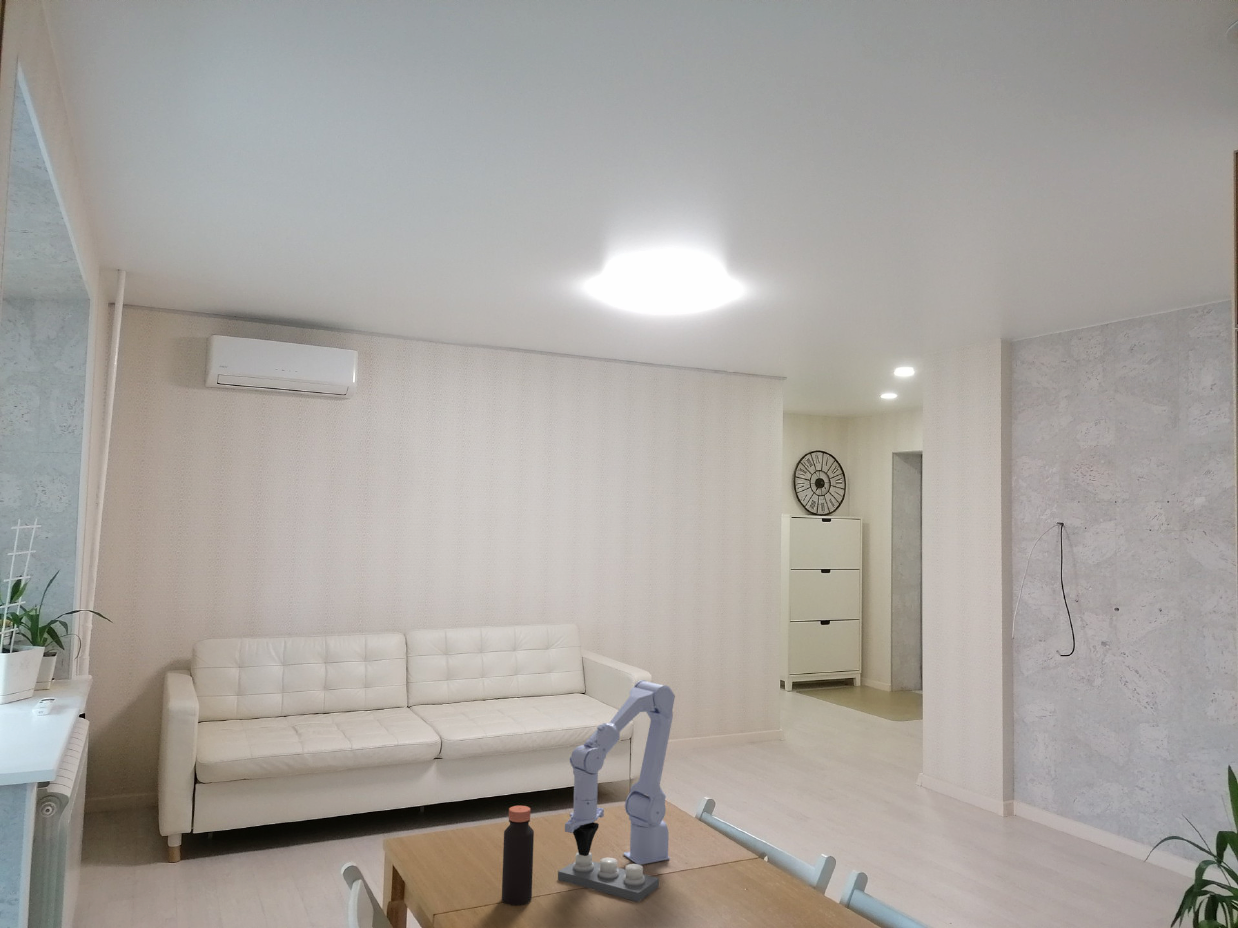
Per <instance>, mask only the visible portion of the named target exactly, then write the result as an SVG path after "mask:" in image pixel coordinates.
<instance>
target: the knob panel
mask: <svg viewBox="0 0 1238 928" xmlns="http://www.w3.org/2000/svg"><path fill="white" fill-rule="evenodd" d="M557 880H558V881H560V882H564V883H568V884H572V885H574V886H578V887H582V888H587V889H590V890H593V891H597V892H599V893H600V892H601V893H605V894H608V895H611V896H614V897H618V898H622V899H626V900H629V901H633V902H637V903H639V902H641V901H642V900H643V899H644V898H646V897H648V896H649V895H650V894H651V893H653V892H655V890H657V889H658V888H659V887H660V878H659V877H656V876H651V875H648V874H644V873H643V877H642V878H641V879H636V880H633V879H629V878H627V877H626V868H625V869H624V868H621V867H617V871H615V872H612V873H606V872H602V871H601V870H600V862H597V861H594V860H592V864H591V865H589V866H579V865H577V864H576V863H575V861H574V862H571V863H570V864H568V865H566V866H565V867H563V868H561V869H560V870H558V871H557Z"/></svg>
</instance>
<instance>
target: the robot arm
mask: <svg viewBox="0 0 1238 928" xmlns="http://www.w3.org/2000/svg"><path fill="white" fill-rule="evenodd" d="M675 698H676V696H675V693H674V691H673V690H672V688H671V687H670V686H668V685H666V684H660V683H659V684H658V683H656V682H655V683H654V682H652V681H651V682H650V681H647V680H643V679H641V680H638V681H637V682H636V683H635V684H634V686H633V687H632V688H630V689H629V696H628V698H627V699H626V700H625V702H624V703H623V704H622V706H621V707H620V708H619V710H618V711H617V712H616V713H615V714H614V716H613V717H612V718H611V720H610V721H609V722H603V723H601V724H599V725H598V726H597V727H596V730H595V731H594V732H593V733H592V735H590V736H589V738H588V739H587V740H586V741H585V742H584V744H581V745H577V746H576V747H575V748H574V750H573V751H572V752H571V757H569V763H570V766H571V767H572V774H573V776H574V778H573V782H574V783H573V806H572V807H573V808H572V809H573V811H572V812H570V813H569V817H570V818H569V819H568V820H567V822H565V823H564V832H566V833H571V834H572V835H573V836H574V839H575V843H576V847H577V852H578V853H579V855H583V856H587V855H589V852H590V851H591V847H592V843H593V840H594V837H595V835H596V833H597V831H598V829H599V828H600V827H599V826H600V825H599V823H598V822H597V821H598V819H599V818H603V817H604V815H605V814H604V813H605V808H603V807H598V784H599V783H598V781H599V779H598V778H599V771H601V769H602V768H603V766H604V763H605V759H606V758H607V755H608V753H610V751H611V750H612V749H613V748H614V747H615V745H616V744H617V743H618V742H619V741H620V737H621V735H620V734H621V733H620V732H622V730H624V728H625V727H626V726H627V725H628V724H629V723H631V722H632V720H634V719H635V718H636V717H637V716H638V715H639V714H640V713H645V712H646V714H647V716H648V717H649V719H650V723H649V728H648V733H647V738H646V744H645V749H644V752H643V753H644V754H643V759H642V763H641V767H640V768H641V770H640V773H639V779H638V781H636V782H635V783H634V784H632V785H631V787H630V791H629V793H628V795H627V797H626V799H625V802H624V810H625V813H626V814H627V815H628V820H629V821H630V836H629V837H630V838H629V839H630V840H629V851H624V852H623V856H624V857H626V858H627V859H629V860H631V862H634V864H638V865H641V866H643V865H645V864H651V863H657V862H662V861H667V860H670V856H669V839H670V838H669V833H670V832H669V828H668V825H667V823H666V821H664V819H665V816H666V811H667V810H666V797H667V796H666V793H665V792H664V790H663V788H662V787H661V780H662V774H663V770H664V765H665V761H666V760H665V758H666V752H667V748H668V744H669V739H670V732H671V728H672V723H673V718H674V717H673V716H674V715H673V713H674V712H673V709H674V704H675ZM590 853H591V852H590Z"/></svg>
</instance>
